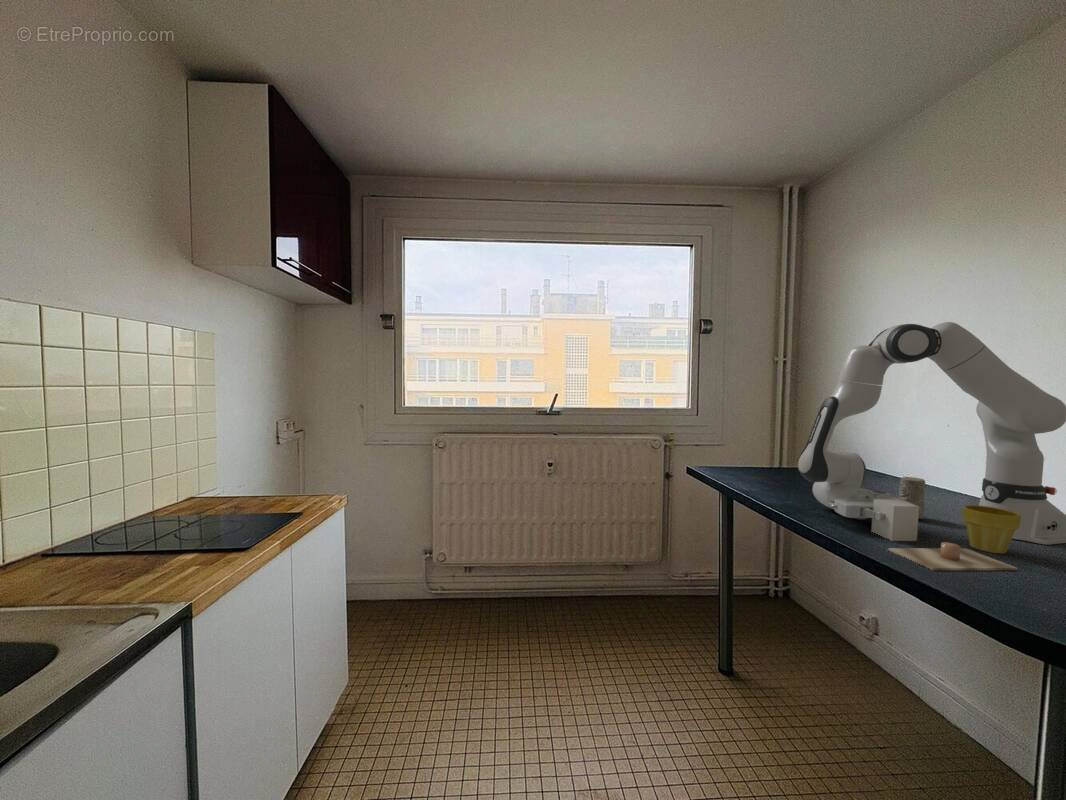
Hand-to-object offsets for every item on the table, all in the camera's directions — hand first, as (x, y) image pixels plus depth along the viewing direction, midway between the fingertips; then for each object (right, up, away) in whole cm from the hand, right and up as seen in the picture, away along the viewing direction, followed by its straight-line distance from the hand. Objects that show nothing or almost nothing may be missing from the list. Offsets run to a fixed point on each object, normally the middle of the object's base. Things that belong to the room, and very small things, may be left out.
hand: (897, 517), depth 127 cm
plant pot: (+17, -6, -7) cm, 20 cm away
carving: (+19, -5, +20) cm, 27 cm away
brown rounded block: (+1, -6, -15) cm, 16 cm away
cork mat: (+1, -6, -15) cm, 16 cm away
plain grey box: (0, -5, +1) cm, 5 cm away
